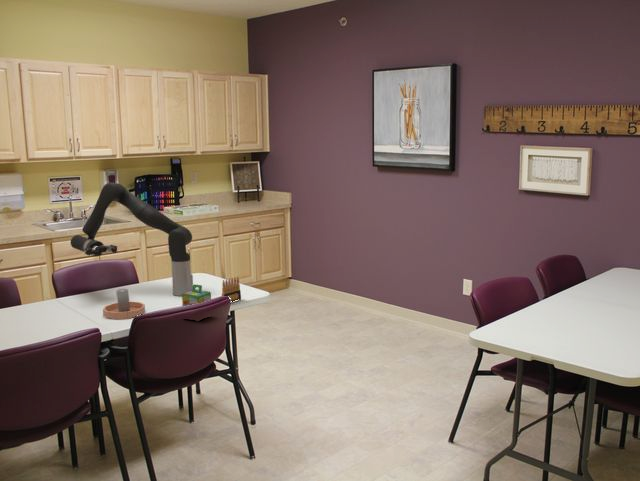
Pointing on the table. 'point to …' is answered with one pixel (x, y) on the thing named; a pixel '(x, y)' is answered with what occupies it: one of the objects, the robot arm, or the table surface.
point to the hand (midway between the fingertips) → (106, 252)
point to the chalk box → (195, 296)
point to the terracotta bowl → (113, 313)
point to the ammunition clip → (231, 289)
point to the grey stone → (123, 300)
